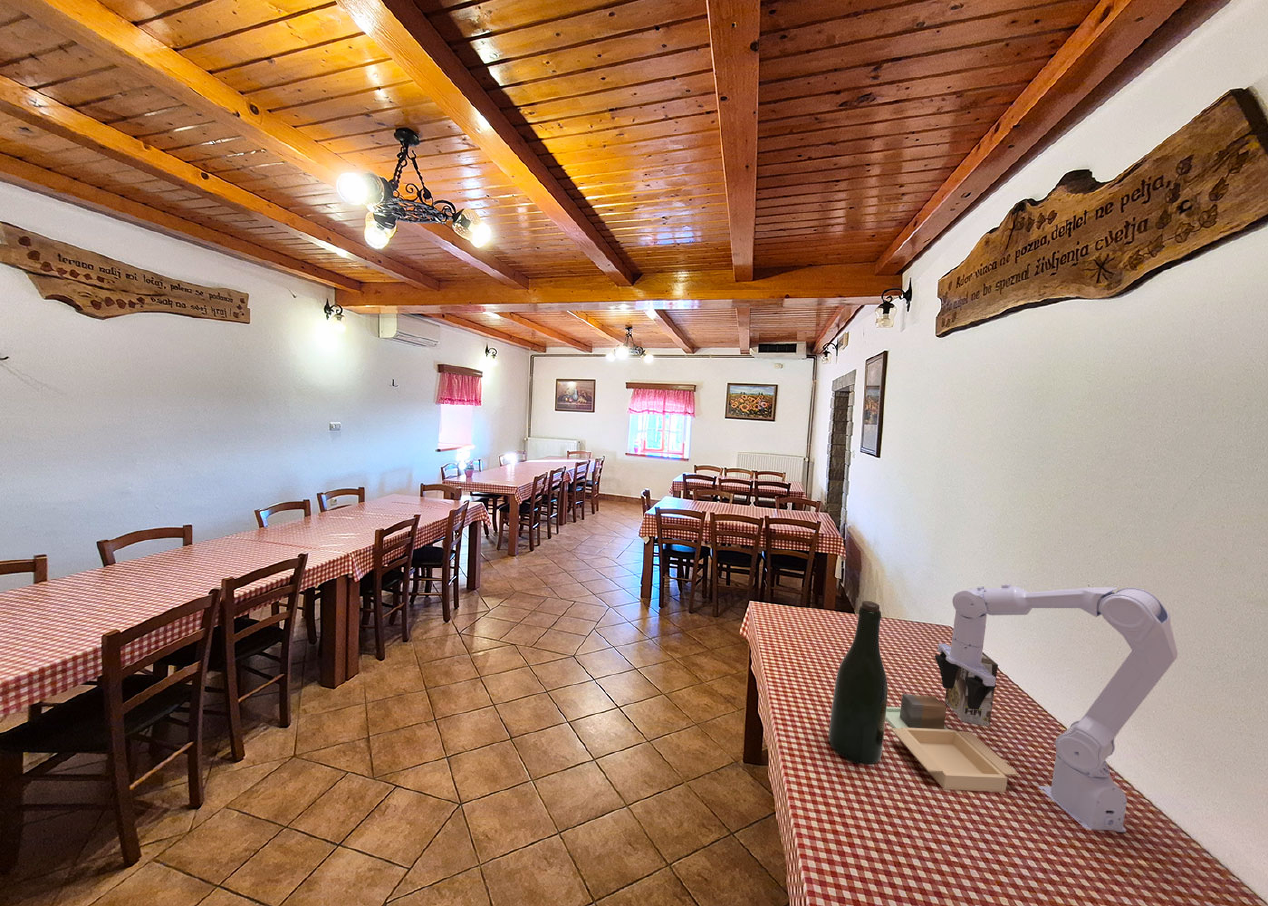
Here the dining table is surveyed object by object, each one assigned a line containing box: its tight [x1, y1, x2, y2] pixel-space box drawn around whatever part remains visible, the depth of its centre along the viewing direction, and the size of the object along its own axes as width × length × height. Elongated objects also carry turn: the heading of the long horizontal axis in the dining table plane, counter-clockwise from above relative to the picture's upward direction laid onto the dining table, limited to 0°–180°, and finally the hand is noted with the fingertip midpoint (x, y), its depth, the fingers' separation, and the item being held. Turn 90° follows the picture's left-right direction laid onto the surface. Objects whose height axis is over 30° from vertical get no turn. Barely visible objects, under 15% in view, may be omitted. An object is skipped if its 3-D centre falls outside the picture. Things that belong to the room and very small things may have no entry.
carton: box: [890, 727, 1019, 793], centre depth 94 cm, size 14×19×4 cm
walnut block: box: [900, 693, 948, 729], centre depth 106 cm, size 4×8×6 cm, turn 91°
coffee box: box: [944, 651, 999, 727], centre depth 112 cm, size 9×6×16 cm
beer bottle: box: [828, 600, 889, 765], centre depth 96 cm, size 10×10×33 cm
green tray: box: [885, 706, 950, 730], centre depth 107 cm, size 10×13×1 cm
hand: (960, 697), depth 103 cm, fingers open, 7 cm apart
